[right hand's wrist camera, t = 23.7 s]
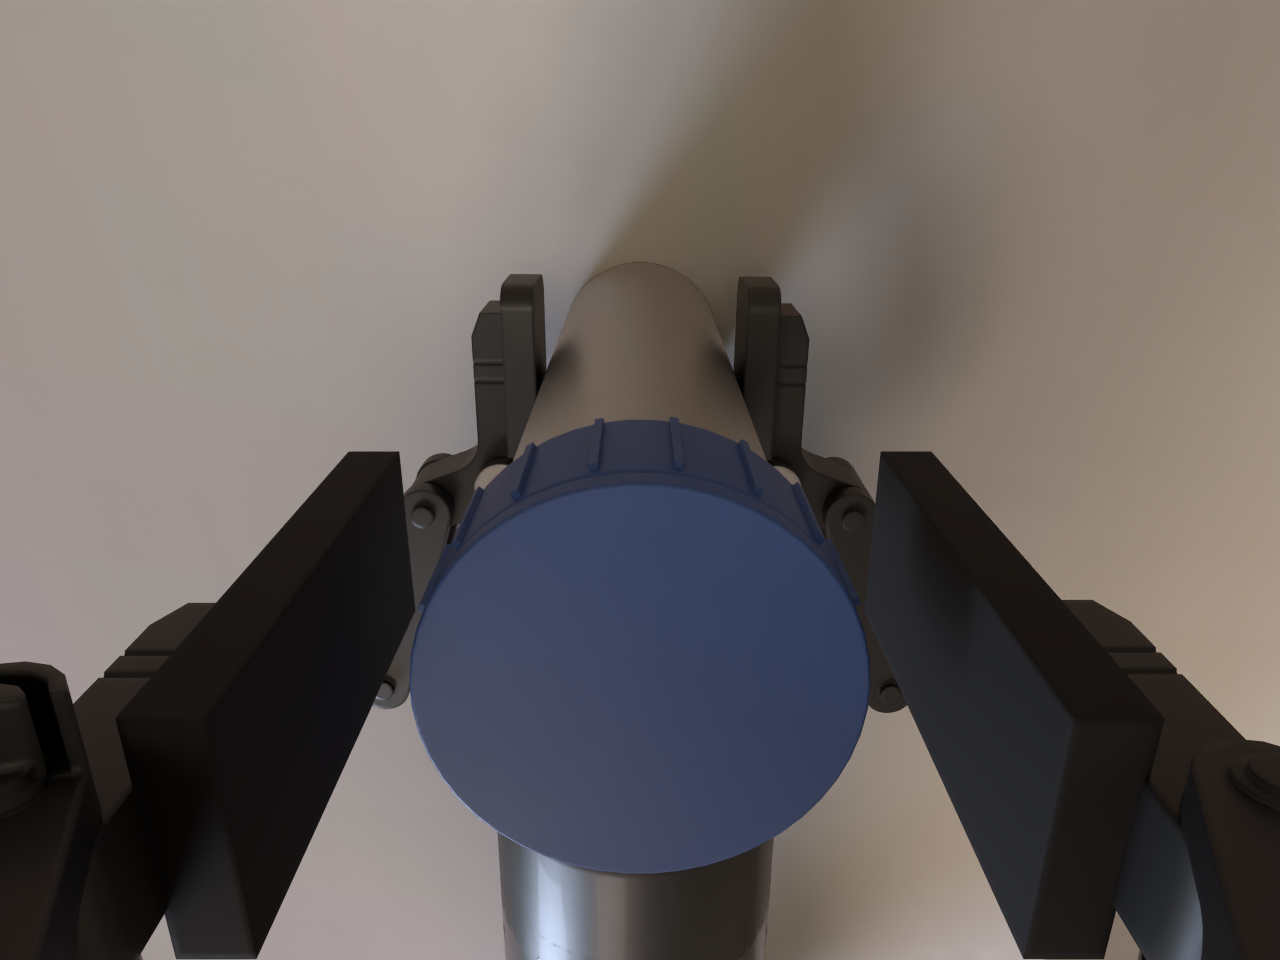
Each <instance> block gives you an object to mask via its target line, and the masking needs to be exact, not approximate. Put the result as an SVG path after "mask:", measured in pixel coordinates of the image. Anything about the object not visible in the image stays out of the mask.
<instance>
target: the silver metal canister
mask: <svg viewBox="0 0 1280 960" xmlns="http://www.w3.org/2000/svg"><path fill="white" fill-rule="evenodd" d="M670 417H676V418H679V423H682V424H686V425H690V426H694V427H698V428H701V429H705V430H709V431H711V432H714V433H716V434H719V435H721V436H724V437H726V438H728V439H731V440H733V441H735V442H737V443H739V441H740V440H741V439H743V440H744V441H746V442H748V444H749V447H750V450H751V451H753V452H755V453H756V454H757V455H759V456H760V457H761V458H763V459H764V460H765V461H767V460H766V458H765V455H764V452H763V450H762V447H761V444H760V442H759V439H758V436H757V433H756V431H755V428H754V425H753V423H752V420H751V417H750V415H749V412H748V409H747V407H746V404H745V401H744V399H743V396H742V393H741V391H740V388H739V385H738V383H737V380H736V377H735V374H734V372H733V369H732V366H731V364H730V361H729V358H728V356H727V353H726V350H725V348H724V345H723V342H722V340H721V337H720V334H719V332H718V329H717V326H716V324H715V321H714V318H713V315H712V313H711V310H710V308H709V306H708V304H707V302H706V300H705V298H704V297H703V295H702V294H701V292H700V291H699V290H698V289H697V288H696V287H695V285H694V284H693V283H692V282H690V281H689V280H688V279H687V278H686V277H684V276H683V275H681V274H679V273H678V272H676V271H674V270H672V269H670V268H667V267H664V266H661V265H658V264H652V263H640V262H636V263H627V264H623V265H619V266H615V267H613V268H610V269H608V270H606V271H604V272H602V273H600V274H599V275H597V276H596V277H594V278H593V279H592V280H590V281H589V282H588V283H587V284H586V285H585V286H584V287H583V288H582V290H581V291H580V292H579V293H578V295H577V296H576V298H575V300H574V301H573V303H572V305H571V307H570V310H569V312H568V315H567V317H566V320H565V323H564V325H563V328H562V331H561V334H560V336H559V339H558V342H557V344H556V347H555V350H554V352H553V355H552V358H551V360H550V363H549V366H548V368H547V371H546V374H545V377H544V379H543V382H542V385H541V387H540V390H539V393H538V395H537V398H536V401H535V403H534V406H533V409H532V411H531V414H530V417H529V419H528V422H527V425H526V428H525V430H524V433H523V436H522V438H521V441H520V444H519V446H518V449H517V452H516V454H515V457H514V460H513V461H515V460H516V459H517V458H519V457H520V456H521V455H523V454H524V451H525V448H526V446H527V445H528V444H530V443H532V442H534V444H535V445H536V446H538V445H540V444H542V443H543V442H545V441H547V440H549V439H551V438H554V437H556V436H559V435H561V434H564V433H567V432H569V431H572V430H574V429H578V428H582V427H586V426H590V425H594V422H595V419H598V418H603V419H604V422H613V421H621V420H660V421H667V422H669V420H670Z"/></svg>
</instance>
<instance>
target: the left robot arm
mask: <svg viewBox="0 0 1280 960" xmlns="http://www.w3.org/2000/svg"><path fill="white" fill-rule="evenodd" d="M808 349H809V337H808V334H807V331H806V328H805V325H804V322H803V319H802V316H801V315H800V314H799V312H798V311H797V310H796V309H795V308H794V306H793V305H792V304H783V303H781V292H780V287H779V286H778V285H777V283H776V282H775V281H774V280H773V279H772V277H740V278H739V282H738V291H737V312H736V333H735V354H734V374H735V377H736V380H737V383H738V385H739V388H740V391H741V393H742V396H743V399H744V401H745V404H746V407H747V409H748V412H749V415H750V417H751V420H752V423H753V425H754V428H755V431H756V433H757V436H758V439H759V442H760V444H761V447H762V450H763V452H764V455H765V458H766V460H767V462H768V463H769V464H771V465H772V466H773V467H775V468H776V469H777V470H778V471H779V472H780V473H781V474H782V475H783V476H784V477H785V478H786V479H787V480H788V481H789V482H790V483H791V484H792V485H793V484H795V483H796V482H798V483H799V484H800V485H801V486H802V488H803V490H804V493H805V495H806V497H807V499H808V502H809V504H810V506H811V508H812V511H813V513H814V515H815V517H816V520H817V522H818V524H819V526H820V528H821V530H822V533H823V535H824V537H825V539H826V540H827V539H830V538H831V539H832V540H833V543H834V545H835V547H836V549H837V551H838V553H839V556H840V558H841V560H842V562H843V564H844V567H845V569H846V571H847V573H848V575H849V577H850V580H851V582H852V584H853V586H854V588H855V591H856V593H857V595H858V597H859V600H860V603H861V605H858V606H855V607H856V610H857V612H858V615H859V618H860V621H861V623H862V626H863V629H864V632H865V636H866V642H867V647H868V652H869V657H870V679H871V685H870V693H869V702H868V705H869V706H870V707H871V708H872V709H874V710H876V711H879V712H883V713H891V712H896V711H898V710H901V709H902V708H904V707H905V706H907V703H906V701H905V698H904V696H903V694H902V692H901V690H900V687H899V685H898V683H897V681H896V679H895V676H894V674H893V672H892V670H891V668H890V666H889V663H888V661H887V659H886V657H885V655H884V652H883V650H882V648H881V646H880V644H879V641H878V639H877V637H876V635H875V633H874V630H873V628H872V626H871V624H870V622H869V620H868V617H867V615H866V613H865V611H864V610H865V600H866V591H867V581H868V571H869V562H870V552H871V542H872V533H873V523H874V513H875V502H874V501H873V499H872V498H871V496H870V494H869V493H868V491H867V489H866V488H865V486H864V484H863V483H862V481H861V480H860V478H859V476H858V475H857V473H856V471H855V470H854V468H853V467H852V465H851V464H850V463H849V462H848V461H846V460H844V459H842V458H838V457H829V458H823V457H821V456H818V455H815V454H812V453H810V452H808V451H806V450H804V449H803V448H802V447H801V439H802V426H803V413H804V401H805V388H806V387H805V383H806V375H807V362H808ZM472 352H473V362H474V365H473V368H474V380H475V400H476V416H477V432H478V445H476V446H475V447H473V448H472V449H469V450H467V451H464V452H461V453H458V454H455V455H450V454H446V453H440V454H435V455H433V456H431V457H429V458H428V459H427V460H426V461H425V462H424V463H423V465H422V467H421V468H420V470H419V472H418V474H417V477H416V480H415V481H414V483H413V485H412V486H411V487H410V488H409V489H408V490H407V491H406V492H405V494H404V503H405V513H406V523H407V533H408V542H409V552H410V562H411V571H412V581H413V591H414V600H415V610H416V611H415V613H414V615H413V617H412V620H411V622H410V624H409V626H408V628H407V630H406V633H405V635H404V637H403V639H402V641H401V644H400V646H399V648H398V650H397V652H396V655H395V657H394V659H393V661H392V663H391V666H390V668H389V670H388V672H387V674H386V676H385V679H384V681H383V683H382V685H381V687H380V690H379V692H378V694H377V696H376V698H375V701H374V703H373V706H375V707H378V708H382V709H391V708H395V707H398V706H400V705H401V704H403V703H404V702H405V700H406V699H407V697H408V695H409V692H410V683H409V678H410V659H411V651H412V647H413V642H414V637H415V633H416V629H417V626H418V623H419V621H420V618H421V616H422V613H423V612H420V611H418V606H419V603H420V601H421V599H422V597H423V594H424V592H425V590H426V588H427V586H428V583H429V581H430V579H431V577H432V575H433V572H434V570H435V568H436V566H437V564H438V561H439V559H440V557H441V555H442V553H443V551H444V548H445V546H446V544H450V545H451V543H452V540H453V538H454V536H455V534H456V531H457V527H458V524H459V523H460V522H461V520H462V518H463V516H464V513H465V511H466V509H467V507H468V504H469V502H470V500H471V498H472V496H473V493H474V491H475V490H476V489H477V488H478V487H481V488H482V489H485V487H486V486H487V485H488V484H489V483H490V482H491V481H492V480H493V479H494V478H495V477H496V476H497V475H498V474H499V473H500V472H501V471H502V470H503V469H504V468H505V467H507V466H508V465H509V464H511V463H512V462H513V460H514V457H515V454H516V452H517V449H518V446H519V444H520V441H521V438H522V436H523V433H524V430H525V428H526V425H527V422H528V419H529V417H530V414H531V411H532V409H533V406H534V403H535V401H536V398H537V395H538V393H539V390H540V387H541V385H542V382H543V379H544V377H545V374H546V343H545V313H544V286H543V278H542V275H541V274H510V275H509V276H508V278H507V279H506V280H505V281H504V282H503V284H502V286H501V294H500V301H489V302H488V303H487V305H486V306H485V307H484V308H483V309H482V311H481V312H480V313H479V316H478V319H477V322H476V325H475V328H474V331H473V334H472ZM773 839H774V837H773V838H771V839H769V840H768V841H766V842H764V843H762V844H761V845H759V846H757V847H755V848H753V849H750V850H748V851H746V852H743V853H741V854H739V855H736V856H734V857H731V858H728V859H725V860H722V861H719V862H715V863H712V864H709V865H705V866H701V867H696V868H691V869H686V870H681V871H671V872H661V873H618V872H609V871H600V870H594V869H589V868H585V867H580V866H575V865H571V864H567V863H564V862H561V861H558V860H555V859H552V858H549V857H546V856H543V855H541V854H539V853H537V852H534V851H532V850H530V849H528V848H525V847H523V846H521V845H519V844H517V843H516V842H514V841H512V840H511V839H509V838H507V837H506V836H504V835H502V834H500V833H499V832H498V844H499V860H500V878H501V894H502V909H503V925H504V939H505V955H506V960H764V957H765V944H766V931H767V919H768V906H769V893H770V880H771V865H772V852H773Z"/></svg>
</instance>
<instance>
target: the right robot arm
mask: <svg viewBox="0 0 1280 960" xmlns="http://www.w3.org/2000/svg"><path fill="white" fill-rule="evenodd" d="M415 611H416V610H415V600H414V591H413V581H412V571H411V562H410V552H409V542H408V533H407V523H406V513H405V503H404V494H403V484H402V474H401V465H400V455H399V452H348V453H347V454H346V455H345V457H344V458H343V459H342V460H341V461H340V462H339V463H338V465H337V466H336V467H335V468H334V469H333V470H332V471H331V472H330V474H329V475H328V476H327V477H326V478H325V479H324V480H323V482H322V483H321V484H320V485H319V486H318V487H317V488H316V490H315V491H314V492H313V493H312V494H311V495H310V496H309V498H308V499H307V500H306V501H305V502H304V503H303V504H302V506H301V507H300V508H299V509H298V510H297V511H296V512H295V514H294V515H293V516H292V517H291V518H290V519H289V520H288V522H287V523H286V524H285V525H284V526H283V527H282V528H281V530H280V531H279V532H278V533H277V534H276V535H275V536H274V537H273V539H272V540H271V541H270V542H269V543H268V544H267V545H266V547H265V548H264V549H263V550H262V551H261V552H260V553H259V555H258V556H257V557H256V558H255V559H254V560H253V561H252V563H251V564H250V565H249V566H248V567H247V568H246V569H245V571H244V572H243V573H242V574H241V575H240V576H239V577H238V579H237V580H236V581H235V582H234V583H233V584H232V585H231V587H230V588H229V589H228V590H227V591H226V592H225V593H224V595H223V596H222V597H221V598H220V599H219V600H218V601H217V603H187V604H186V605H184V606H182V607H180V608H179V609H177V610H175V611H173V612H172V613H170V614H168V615H167V616H165V617H163V618H161V619H160V620H158V621H156V622H154V623H153V624H151V625H149V626H148V628H147V629H146V630H145V631H144V632H143V633H142V634H141V635H140V636H139V637H138V638H137V639H136V640H135V641H134V642H133V643H132V644H131V645H130V646H129V647H128V648H127V649H126V650H125V656H119V657H118V658H117V659H116V661H115V662H114V663H113V664H112V665H111V666H110V667H109V668H108V669H107V670H106V671H105V672H104V678H98V679H97V680H96V681H95V682H94V683H93V684H92V685H91V686H90V687H89V688H88V689H87V690H86V691H85V693H84V694H83V695H82V696H81V697H80V698H79V699H78V700H77V701H76V702H75V703H74V704H73V703H72V699H71V695H70V692H69V688H68V684H67V681H66V677H65V674H63V673H62V672H60V671H59V670H57V669H56V668H54V667H53V666H51V665H46V664H39V663H32V662H15V663H4V664H0V960H143V959H142V956H141V952H142V951H143V949H144V947H145V946H146V944H147V942H148V940H149V939H150V937H151V935H152V934H153V932H154V930H155V929H156V927H157V925H158V924H159V922H160V920H161V919H162V917H163V915H164V914H165V917H166V921H167V925H168V929H169V933H170V937H171V941H172V945H173V948H174V952H175V956H176V959H257V957H258V954H259V952H260V950H261V948H262V946H263V943H264V941H265V939H266V937H267V935H268V932H269V930H270V928H271V926H272V924H273V922H274V919H275V917H276V915H277V913H278V911H279V908H280V906H281V904H282V902H283V900H284V897H285V895H286V893H287V891H288V889H289V887H290V884H291V882H292V880H293V878H294V876H295V873H296V871H297V869H298V867H299V865H300V862H301V860H302V858H303V856H304V854H305V852H306V849H307V847H308V845H309V843H310V841H311V838H312V836H313V834H314V832H315V830H316V827H317V825H318V823H319V821H320V819H321V817H322V814H323V812H324V810H325V808H326V806H327V803H328V801H329V799H330V797H331V795H332V792H333V790H334V788H335V786H336V784H337V781H338V779H339V777H340V775H341V773H342V771H343V768H344V766H345V764H346V762H347V760H348V757H349V755H350V753H351V751H352V749H353V746H354V744H355V742H356V740H357V738H358V736H359V733H360V731H361V729H362V727H363V725H364V722H365V720H366V718H367V716H368V714H369V711H370V709H371V707H372V705H373V703H374V701H375V698H376V696H377V694H378V692H379V690H380V687H381V685H382V683H383V681H384V679H385V676H386V674H387V672H388V670H389V668H390V666H391V663H392V661H393V659H394V657H395V655H396V652H397V650H398V648H399V646H400V644H401V641H402V639H403V637H404V635H405V633H406V630H407V628H408V626H409V624H410V622H411V620H412V617H413V615H414V613H415ZM864 611H865V613H866V615H867V617H868V620H869V622H870V624H871V626H872V628H873V630H874V633H875V635H876V637H877V639H878V641H879V644H880V646H881V648H882V650H883V652H884V655H885V657H886V659H887V661H888V663H889V666H890V668H891V670H892V672H893V674H894V676H895V679H896V681H897V683H898V685H899V687H900V690H901V692H902V694H903V696H904V698H905V701H906V703H907V705H908V707H909V709H910V711H911V714H912V716H913V718H914V720H915V722H916V725H917V727H918V729H919V731H920V733H921V736H922V738H923V740H924V742H925V744H926V746H927V749H928V751H929V753H930V755H931V757H932V760H933V762H934V764H935V766H936V768H937V771H938V773H939V775H940V777H941V779H942V781H943V784H944V786H945V788H946V790H947V792H948V795H949V797H950V799H951V801H952V803H953V806H954V808H955V810H956V812H957V814H958V817H959V819H960V821H961V823H962V825H963V827H964V830H965V832H966V834H967V836H968V838H969V841H970V843H971V845H972V847H973V849H974V852H975V854H976V856H977V858H978V860H979V862H980V865H981V867H982V869H983V871H984V873H985V876H986V878H987V880H988V882H989V884H990V887H991V889H992V891H993V893H994V895H995V897H996V900H997V902H998V904H999V906H1000V908H1001V911H1002V913H1003V915H1004V917H1005V919H1006V922H1007V924H1008V926H1009V928H1010V930H1011V933H1012V935H1013V937H1014V939H1015V941H1016V943H1017V946H1018V948H1019V950H1020V952H1021V954H1022V957H1023V959H1104V956H1105V952H1106V948H1107V945H1108V941H1109V937H1110V933H1111V929H1112V925H1113V921H1114V917H1115V913H1116V911H1117V912H1118V914H1119V916H1120V917H1121V919H1122V920H1123V922H1124V924H1125V926H1126V927H1127V929H1128V931H1129V932H1130V934H1131V936H1132V937H1133V939H1134V941H1135V942H1136V944H1137V946H1138V947H1139V949H1140V952H1139V956H1138V959H1137V960H1280V746H1277V745H1273V744H1270V743H1266V742H1262V741H1252V740H1246V739H1245V738H1244V737H1243V736H1242V735H1241V734H1240V733H1239V732H1238V731H1237V730H1236V729H1235V728H1234V727H1233V726H1232V725H1231V724H1230V723H1229V722H1228V721H1227V720H1226V719H1225V718H1224V717H1223V716H1222V715H1221V714H1220V713H1219V712H1218V711H1217V710H1216V709H1215V708H1214V707H1213V706H1212V705H1211V704H1210V702H1209V701H1208V700H1207V699H1206V698H1205V697H1204V696H1203V695H1202V694H1201V693H1200V692H1199V691H1198V690H1197V689H1196V688H1195V687H1194V686H1193V685H1192V684H1191V683H1190V682H1189V681H1188V680H1187V679H1186V678H1185V677H1184V676H1183V675H1182V674H1177V669H1176V668H1175V667H1174V666H1173V665H1172V664H1171V663H1170V662H1169V661H1168V659H1167V658H1166V657H1165V656H1164V655H1163V654H1162V653H1156V647H1155V646H1154V645H1153V644H1152V643H1151V642H1150V641H1149V640H1148V639H1147V638H1146V637H1145V636H1144V635H1143V634H1142V633H1141V632H1140V631H1139V630H1138V629H1137V628H1136V627H1135V626H1134V625H1133V624H1132V623H1131V622H1130V621H1128V620H1127V619H1125V618H1123V617H1121V616H1120V615H1118V614H1116V613H1114V612H1113V611H1111V610H1109V609H1107V608H1105V607H1104V606H1102V605H1100V604H1098V603H1097V602H1095V601H1093V600H1061V599H1060V598H1059V597H1058V596H1057V595H1056V593H1055V592H1054V591H1053V590H1052V589H1051V588H1050V587H1049V585H1048V584H1047V583H1046V582H1045V581H1044V580H1043V579H1042V577H1041V576H1040V575H1039V574H1038V573H1037V572H1036V571H1035V569H1034V568H1033V567H1032V566H1031V565H1030V564H1029V563H1028V561H1027V560H1026V559H1025V558H1024V557H1023V556H1022V555H1021V553H1020V552H1019V551H1018V550H1017V549H1016V548H1015V547H1014V545H1013V544H1012V543H1011V542H1010V541H1009V540H1008V539H1007V537H1006V536H1005V535H1004V534H1003V533H1002V532H1001V531H1000V530H999V528H998V527H997V526H996V525H995V524H994V523H993V522H992V520H991V519H990V518H989V517H988V516H987V515H986V514H985V512H984V511H983V510H982V509H981V508H980V507H979V506H978V504H977V503H976V502H975V501H974V500H973V499H972V498H971V496H970V495H969V494H968V493H967V492H966V491H965V490H964V488H963V487H962V486H961V485H960V484H959V483H958V482H957V480H956V479H955V478H954V477H953V476H952V475H951V474H950V472H949V471H948V470H947V469H946V468H945V467H944V466H943V465H942V463H941V462H940V461H939V460H938V459H937V458H936V457H935V455H934V454H933V453H932V452H881V455H880V465H879V474H878V484H877V494H876V503H875V513H874V523H873V533H872V542H871V552H870V562H869V571H868V581H867V591H866V600H865V610H864Z"/></svg>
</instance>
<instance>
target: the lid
mask: <svg viewBox="0 0 1280 960" xmlns="http://www.w3.org/2000/svg"><path fill="white" fill-rule="evenodd" d="M858 605H861V603H860V600H859V597H858V595H857V593H856V591H855V588H854V586H853V584H852V582H851V580H850V577H849V575H848V573H847V571H846V569H845V567H844V564H843V562H842V560H841V558H840V556H839V553H838V551H837V549H836V547H835V545H834V543H833V540H832V539H831V538H830V539H827V540H826V539H825V537H824V535H823V533H822V530H821V528H820V526H819V524H818V522H817V520H816V517H815V515H814V513H813V511H812V508H811V506H810V504H809V502H808V499H807V497H806V495H805V493H804V490H803V488H802V486H801V485H800V484H799V483H798V482H796V483H795V484H793V485H792V484H791V483H790V482H789V481H788V480H787V479H786V478H785V477H784V476H783V475H782V474H781V473H780V472H779V471H778V470H777V469H776V468H775V467H773V466H772V465H771V464H769V463H768V462H767V461H765V460H764V459H763V458H761V457H760V456H759V455H757V454H756V453H755V452H753V451H751V450H750V447H749V444H748V442H746V441H744V440H743V439H741V440H740V441H739V443H737V442H735V441H733V440H731V439H728V438H726V437H724V436H721V435H719V434H716V433H714V432H711V431H709V430H705V429H701V428H698V427H694V426H690V425H686V424H682V423H679V418H676V417H670V420H669V422H667V421H660V420H621V421H613V422H604V419H603V418H598V419H595V422H594V425H590V426H586V427H582V428H578V429H574V430H572V431H569V432H567V433H564V434H561V435H559V436H556V437H554V438H551V439H549V440H547V441H545V442H543V443H542V444H540V445H538V446H536V445H535V444H534V442H532V443H530V444H528V445H527V446H526V448H525V451H524V454H523V455H521V456H520V457H519V458H517V459H516V460H515V461H513V462H512V463H511V464H509V465H508V466H507V467H505V468H504V469H503V470H502V471H501V472H500V473H499V474H498V475H497V476H496V477H495V478H494V479H493V480H492V481H491V482H490V483H489V484H488V485H487V486H486V487H485V489H482V488H481V487H478V488H477V489H476V490H475V491H474V493H473V496H472V498H471V500H470V502H469V504H468V507H467V509H466V511H465V513H464V516H463V518H462V520H461V522H460V525H459V527H458V529H457V531H456V534H455V536H454V538H453V540H452V543H451V545H450V544H446V546H445V548H444V551H443V553H442V555H441V557H440V559H439V561H438V564H437V566H436V568H435V570H434V572H433V575H432V577H431V579H430V581H429V583H428V586H427V588H426V590H425V592H424V594H423V597H422V599H421V601H420V603H419V606H418V611H420V612H423V613H422V616H421V618H420V621H419V623H418V626H417V629H416V633H415V637H414V642H413V647H412V651H411V659H410V678H409V683H410V693H411V702H412V709H413V713H414V716H415V720H416V724H417V728H418V732H419V734H420V737H421V739H422V741H423V744H424V746H425V749H426V751H427V753H428V756H429V757H430V759H431V761H432V762H433V764H434V766H435V767H436V769H437V771H438V772H439V774H440V776H441V777H442V779H443V780H444V781H445V782H446V784H447V785H448V786H449V787H450V789H451V790H452V791H453V792H454V794H455V795H456V796H457V797H458V799H460V800H461V801H462V802H463V803H464V804H465V805H466V806H467V807H468V808H469V809H470V810H471V811H472V812H473V813H474V814H475V815H476V816H477V817H479V818H480V819H481V820H483V821H484V822H485V823H487V824H488V825H489V826H491V827H492V828H493V829H494V830H496V831H497V832H499V833H500V834H502V835H504V836H506V837H507V838H509V839H511V840H512V841H514V842H516V843H517V844H519V845H521V846H523V847H525V848H528V849H530V850H532V851H534V852H537V853H539V854H541V855H543V856H546V857H549V858H552V859H555V860H558V861H561V862H564V863H567V864H571V865H575V866H580V867H585V868H589V869H594V870H600V871H609V872H618V873H661V872H671V871H681V870H686V869H691V868H696V867H701V866H705V865H709V864H712V863H715V862H719V861H722V860H725V859H728V858H731V857H734V856H736V855H739V854H741V853H743V852H746V851H748V850H750V849H753V848H755V847H757V846H759V845H761V844H762V843H764V842H766V841H768V840H769V839H771V838H773V837H775V836H776V835H778V834H780V833H781V832H783V831H784V830H785V829H787V828H788V827H789V826H791V825H792V824H794V823H795V822H796V821H798V820H799V819H800V818H802V817H803V816H804V815H805V814H806V813H807V812H808V811H809V810H810V809H811V808H812V807H813V806H814V805H815V804H816V803H818V802H819V801H820V800H821V798H822V797H823V796H824V795H825V794H826V792H827V791H828V790H829V789H830V788H831V786H832V785H833V784H834V783H835V781H836V780H837V779H838V777H839V776H840V774H841V772H842V771H843V769H844V767H845V766H846V764H847V763H848V761H849V759H850V758H851V755H852V753H853V751H854V749H855V746H856V744H857V742H858V739H859V737H860V735H861V731H862V728H863V724H864V721H865V717H866V713H867V710H868V702H869V693H870V685H871V679H870V657H869V652H868V647H867V642H866V636H865V632H864V629H863V626H862V623H861V621H860V618H859V615H858V612H857V610H856V607H855V606H858Z"/></svg>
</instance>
